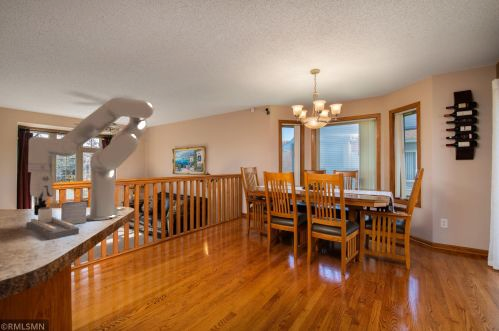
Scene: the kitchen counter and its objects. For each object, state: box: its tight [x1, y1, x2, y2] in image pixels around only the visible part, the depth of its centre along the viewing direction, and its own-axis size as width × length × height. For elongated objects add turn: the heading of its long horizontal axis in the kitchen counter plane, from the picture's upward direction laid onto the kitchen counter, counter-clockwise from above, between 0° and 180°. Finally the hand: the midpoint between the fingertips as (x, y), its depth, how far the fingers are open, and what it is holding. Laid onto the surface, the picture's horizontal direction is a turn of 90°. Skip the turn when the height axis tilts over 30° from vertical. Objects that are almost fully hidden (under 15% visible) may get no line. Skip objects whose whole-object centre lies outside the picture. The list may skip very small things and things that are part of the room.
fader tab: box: [37, 206, 53, 223], centre depth 87 cm, size 3×3×6 cm
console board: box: [25, 216, 80, 240], centre depth 84 cm, size 8×24×3 cm, turn 58°
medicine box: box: [60, 201, 87, 225], centre depth 94 cm, size 8×4×9 cm, turn 135°
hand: (40, 214), depth 90 cm, fingers closed
